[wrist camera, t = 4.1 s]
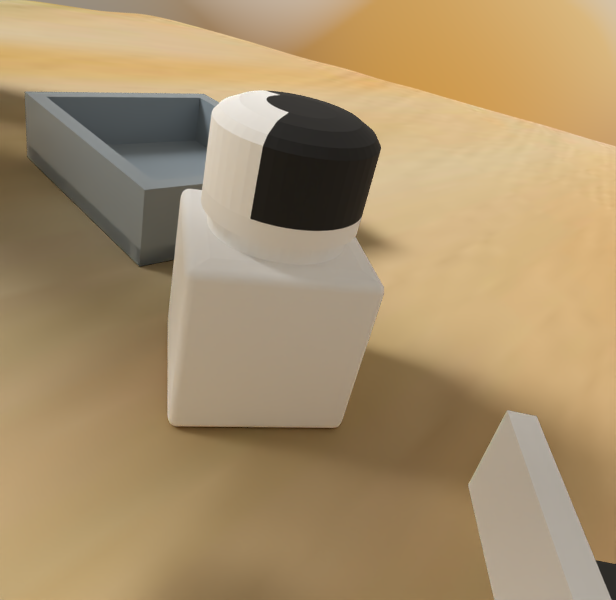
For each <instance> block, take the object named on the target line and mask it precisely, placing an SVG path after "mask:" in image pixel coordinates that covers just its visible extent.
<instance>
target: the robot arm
mask: <svg viewBox="0 0 616 600" xmlns="http://www.w3.org/2000/svg"><path fill="white" fill-rule="evenodd" d="M468 487H469V492H470V496H471V500H472V505H473V509H474V514H475V518H476V522H477V527H478V531H479V535H480V540H481V544H482V549H483V553H484V557H485V562H486V566H487V571H488V575H489V579H490V584H491V588H492V592H493V597H494V600H616V564H612V563H607V562H601V561H596V560H595V558H594V556H593V553H592V551H591V548H590V546H589V543H588V541H587V538H586V536H585V534H584V531H583V529H582V526H581V524H580V521H579V519H578V516H577V514H576V511H575V509H574V507H573V504H572V502H571V499H570V497H569V494H568V492H567V489H566V487H565V485H564V482H563V480H562V477H561V475H560V472H559V470H558V467H557V465H556V463H555V460H554V458H553V455H552V453H551V450H550V448H549V445H548V443H547V440H546V438H545V436H544V433H543V431H542V428H541V426H540V423H539V421H538V418H537V416H533V415H528V414H524V413H519V412H514V411H509V410H507V411H506V413H505V415H504V417H503V419H502V421H501V423H500V425H499V426H498V428H497V430H496V432H495V434H494V436H493V438H492V440H491V442H490V444H489V446H488V448H487V449H486V451H485V453H484V455H483V457H482V459H481V461H480V463H479V465H478V467H477V469H476V470H475V472H474V474H473V476H472V478H471V480H470V482H469V484H468Z"/></svg>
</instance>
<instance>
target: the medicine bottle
mask: <svg viewBox="0 0 616 600" xmlns="http://www.w3.org/2000/svg"><path fill="white" fill-rule="evenodd" d="M380 150H381V147H380V143H379V141H378V139H377V136H376V134H375V133H374V131H373V130H372V129H371V128H370V127H368V126H367V125H366V124H365V123H364V122H362V121H361V120H360V119H359V118H358V117H356V116H355V115H353V114H352V113H350V112H348V111H346V110H344V109H342V108H340V107H338V106H335V105H332V104H330V103H327V102H324V101H320V100H317V99H313V98H310V97H306V96H301V95H296V94H291V93H285V92H276V91H250V92H245V93H241V94H238V95H234V96H230V97H227V98H225V99H223V100H222V101H221V102H220V103H219V104H218V105H217V106H216V107H215V108H213V110H212V114H211V122H210V130H209V138H208V146H207V154H206V162H205V170H204V178H203V186H202V190H197V189H186V190H184V191H183V192H182V195H181V198H180V208H179V217H178V227H177V236H176V246H175V255H174V265H173V274H172V284H171V294H170V303H169V313H168V416H167V417H168V420H169V423H170V424H171V425H173V426H202V427H305V428H335V427H338V426H339V425H340V424H341V422H342V420H343V417H344V414H345V410H346V407H347V404H348V401H349V398H350V395H351V392H352V389H353V386H354V383H355V380H356V377H357V374H358V371H359V368H360V365H361V362H362V359H363V356H364V353H365V350H366V347H367V344H368V341H369V338H370V335H371V331H372V328H373V325H374V322H375V319H376V316H377V313H378V310H379V307H380V304H381V301H382V298H383V295H384V287H383V285H382V283H381V281H380V279H379V278H378V276H377V274H376V272H375V271H374V269H373V267H372V265H371V263H370V262H369V260H368V258H367V256H366V255H365V253H364V251H363V249H362V247H361V246H360V244H359V242H358V240H357V238H356V237H355V236H356V235H357V231H358V228H359V224H360V221H361V217H362V214H363V210H364V207H365V203H366V200H367V196H368V193H369V189H370V185H371V182H372V178H373V175H374V171H375V168H376V164H377V161H378V157H379V154H380Z"/></svg>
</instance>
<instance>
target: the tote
mask: <svg viewBox="0 0 616 600" xmlns="http://www.w3.org/2000/svg"><path fill="white" fill-rule="evenodd" d="M218 104H219V102H217V101H215V100H214V99H212V98H210V97H208V96H207V95H205V94H169V93H87V92H25V111H26V136H27V157H28V158H29V159H30V160H31V161H32V162H33V163H34V164H35V165H36V166H37V167H38V168H39V169H40V170H41V171H42V172H43V173H44V174H45V175H46V176H47V177H48V178H49V179H50V180H51V181H52V182H53V183H54V184H55V185H57V186H58V187H59V188H60V189H61V190H62V191H63V192H64V193H65V194H66V195H67V196H68V197H69V198H70V199H71V200H72V201H73V202H74V203H75V204H76V205H77V206H78V207H79V208H80V209H81V210H82V211H83V212H84V213H85V214H86V215H87V216H88V217H89V218H90V219H91V220H92V221H93V222H94V223H95V224H96V225H97V226H99V227H100V228H101V229H102V230H103V231H104V232H105V233H106V234H107V235H108V236H109V237H110V238H111V239H112V240H113V241H114V242H115V243H116V244H117V245H118V246H119V247H120V248H121V249H122V250H123V251H124V252H125V253H126V254H127V255H128V256H129V257H130V258H131V259H132V260H133V261H134V262H135V263H136V264H137V265H138V266H144V265H149V264H154V263H159V262H164V261H169V260H174V255H175V246H176V236H177V227H178V217H179V208H180V198H181V195H182V192H183V191H184V190H186V189H197V190H202V186H203V178H204V170H205V162H206V154H207V146H208V138H209V130H210V122H211V114H212V110H213V108H215V107H216V106H217V105H218Z"/></svg>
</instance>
